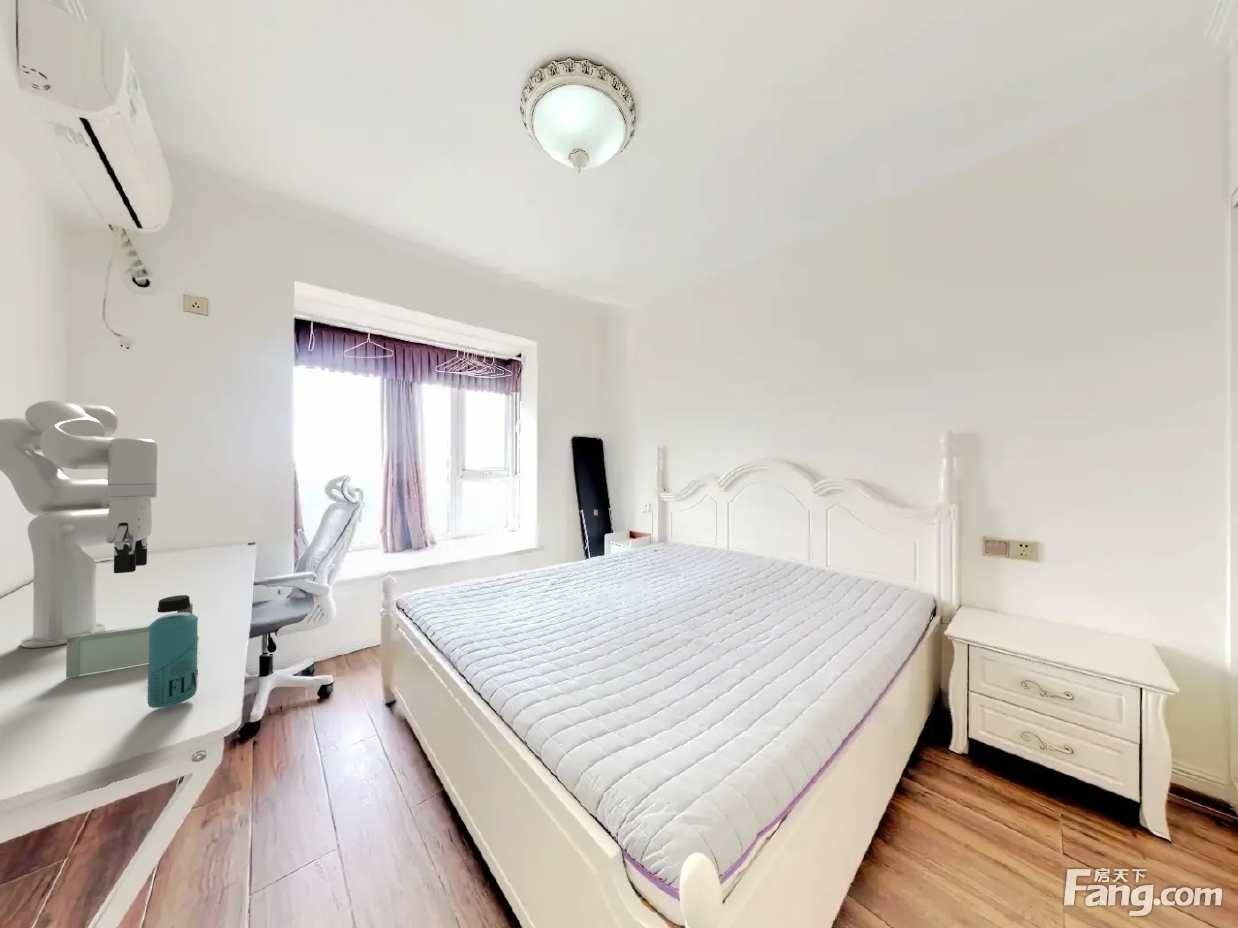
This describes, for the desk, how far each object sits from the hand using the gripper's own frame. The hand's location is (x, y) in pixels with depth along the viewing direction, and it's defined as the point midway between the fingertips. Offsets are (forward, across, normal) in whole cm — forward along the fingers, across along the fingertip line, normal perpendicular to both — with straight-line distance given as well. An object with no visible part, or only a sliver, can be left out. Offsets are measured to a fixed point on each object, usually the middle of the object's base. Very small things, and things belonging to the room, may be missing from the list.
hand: (130, 568), depth 97 cm
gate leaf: (+19, +10, +1) cm, 22 cm away
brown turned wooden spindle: (+20, +10, +11) cm, 25 cm away
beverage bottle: (+20, +35, +14) cm, 43 cm away
